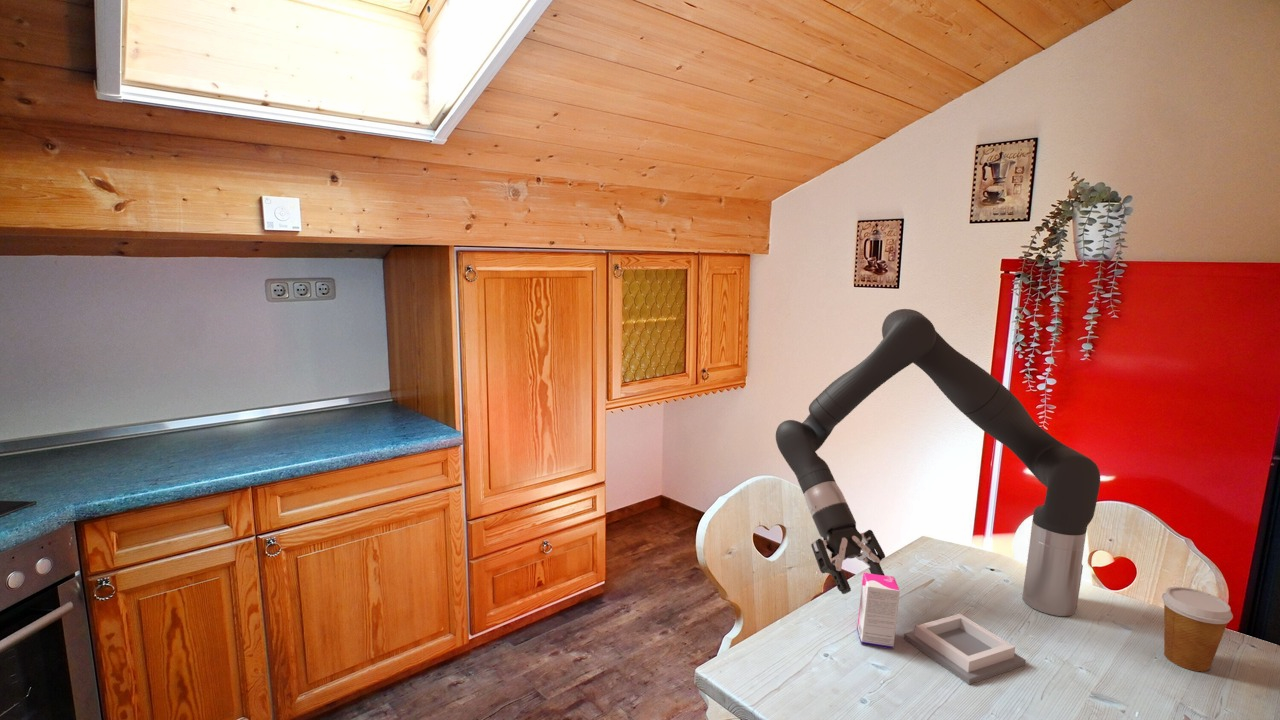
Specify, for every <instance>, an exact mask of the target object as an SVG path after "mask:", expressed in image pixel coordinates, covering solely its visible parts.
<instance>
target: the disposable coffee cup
mask: <svg viewBox="0 0 1280 720" xmlns="http://www.w3.org/2000/svg"><path fill="white" fill-rule="evenodd" d="M1161 599H1162V601H1163V604H1164V605H1163V607H1164V611H1163V612H1164V613H1163V614H1164V617H1163V620H1164V622H1163V623H1164V629H1163V634H1164V637H1163V638H1164V643H1163V644H1164V645H1163V649H1164V652H1163V655H1164V657H1165V658H1167V660H1168V661H1170V662H1171V663H1174V664H1175V665H1176V664H1177V666H1179V667H1181V668H1183V669H1186V670H1189V669H1190V671H1193V670H1194V672H1199V671H1201V672H1200V673H1203V671H1206V672H1208V671H1207V670H1209V669H1210V670H1211V667H1212V663H1213V661H1214V659H1215V657H1216V653H1217V651H1218V648H1219V647H1220V643H1221V642H1222V637H1224V633H1225V630H1226V628H1227V625H1228V623H1230V621H1232V620H1233V618H1234V615H1233V613H1232V611H1231V606H1230V605H1229V603H1227V602H1226V601H1225V600H1223V599H1221V598H1220V597H1217V596H1215V595H1213V594H1211V593H1208V592H1205V591H1202V590H1198V589H1194V588H1190V587H1182V586H1170V587H1168V588H1167V589H1166V590H1165V592H1164V593H1162V594H1161ZM1210 670H1209V671H1210Z"/></svg>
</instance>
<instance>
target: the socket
mask: <svg viewBox="0 0 1280 720" xmlns="http://www.w3.org/2000/svg"><path fill="white" fill-rule="evenodd" d="M903 640H906V641H907V642H908V643H909V642H910V645H912V646H914V647H915V648H916V647H917V648H916V649H918V650H919V651H921V652H923V653H924V654H925V655H926V656H928V657H929V658H931V659H932V660H934V662H936V663H937V664H939V665H940V666H942V667H944V668H945V669H946V670H948V671H949V672H950V673H952V674H953V675H954V676H956V677H957V678H959V679H960V680H962V681H963V682H965V683H966V684H967V685H971V684H974V683H977V682H979V681H983V680H985V679H989V678H992V677H995V676H998V675H1000V674H1003V673H1007V672H1009V671H1012V670H1016V669H1018V668H1022V667H1024V666H1026V659H1025V658H1024V657H1021V656H1020V655H1018V654H1017V653H1015V652H1016V651H1015V650H1016V646H1015V645H1012V644H1011V643H1009V642H1008V641H1006V640H1005V639H1003V638H1001V637H999V636H997V635H996V634H994V633H993V632H991V631H989V630H988V629H986V628H984V627H983V626H982V625H980V624H977V623H976V622H974V621H973V620H971V619H969V618H968V617H966V616H964V615H963V614H961V613H957V614H953V615H950V616H946V617H943V618H939V619H936V620H931V621H928V622H925V623H921V624H917V625H915V629H914V630H911V631H907V632H904V633H903Z"/></svg>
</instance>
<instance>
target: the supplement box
mask: <svg viewBox="0 0 1280 720" xmlns="http://www.w3.org/2000/svg"><path fill="white" fill-rule="evenodd" d="M884 575H885V574H884ZM884 575H877V574H871V572H870V573H868V572H863V573H862V581H861V582H862V583H861V590H860V591H861V592H860V600H859V610H858V618H857V626H856V630H857V632H858V633H857V634H858V638H859V640H860V644H861V645H862V646H869V647H875V648H883V649H889V650H892V649H894V645H895V637H896V628H897V618H898V611H899V602H900V593H901V591H900V587H899V586H898V583H897V581H896V578H895V576H889V575H885V576H884Z"/></svg>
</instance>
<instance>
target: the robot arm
mask: <svg viewBox="0 0 1280 720" xmlns="http://www.w3.org/2000/svg"><path fill="white" fill-rule="evenodd" d="M881 336H882V340H881V341H880V342H879V344H878V345H877V346H876V347H875V349H873V351H872V352H871V353H870V354H869V355H868V356H866V358H865V359H863V360H862V361H861V362H859V364H857V365H855V366H854V367H853V368H851V369H849V370H848V371H846V372H845V373H843V374H841V375H840V376H839V377H837V378H836V379H835V380H834V381H832V382H831V383H830V384H829V385H828V386H826V388H825V389H824V390H822V391H821V392H820V393H819V394H818V396H816V397H814V399H813V400H812V401H811V402H810V404H809V406H808V412H809V414H808V415H807V417H806V419H804V421H802V422H801V421H797V420H794V419H788V420H784V421H782V422H781V423H780V424H779V425H778V426H777V427H776V431H775V441H776V444H777V448H778V450H779V452H780V454H781V455H782V457H783V458H784V460H785V461H786V463H787V464H788V466H789V468H790V469H791V471H792V472H793V473H794V475H795V477H796V479H797V482H798V485H799V487H800V490H801V491H802V495H803V496H804V500H805V503H806V506H807V509H808V510H809V513H810V515H811V518H812V520H813V522H814V524H815V527H816V530H817V532H818V535H819V536H820V537H821V538H818V539H815V541H814V542H812V543H811V544H810V545H811V548H812V552H813V555H814V556H815V560H816V562H817V565H818V568H819V571H820V572H821V574H829V575H830V576H832V578H833V581H834V583H835V585H836V588H837V590H839V592H841V594H842V595H845V594H846V595H847V594H848V593H850V592H851V591H852V588H851V585H850V583H849V582H848V579H847V577H846V575H845V573H844V570H842V567H843V562H844V561H845V560H846V559H857V560H859V561H861V562H863V563H864V564H866V565H867V567H868V570H869V572H870V574H877V575H884V576H886V575H885V573H884V571H883V568H882V567H881V564H880V563H881V561H882V560H884V559H885V558H886V554H885V552H884V550H883V548H882V547H881V545H880V543H879V540H878V539H877V537H876V536H875V533H874V532H873V530H872V529H868V530H866V531H864V532H861V533H860V532H859V531H858V529H857V521H856V520H855V518H854V514H853V513H852V511H851V509H850V506H849V504H848V502H847V500H846V498H845V496H844V493H843V491H842V490H841V489H840V487H839V485H838V483H837V482H836V480H835V477H834V476H833V473H832V472H831V469H830V467H829V465H828V463H827V462H826V461H825V459H822V458H821V456H819V455H818V453H817V452H816V451H818V450H819V449H820V448H821V447H823V445H824V444H825V442H826V440H827V439H828V437H830V435H831V433H832V432H833V430H834V429H835V427H836V426H837V425H839V424H840V423H841V422H842V421H843V420H844V419H845V418H846V417H847V416H848V415H849V414H851V413H852V412H853V411H854V410H855V409H856V408H857V407H858V406H859V405H860V404H861V403H863V401H864V400H866V398H868V397H869V396H870V395H871V394H872V393H874V392H875V391H876V390H877V389H878V388H880V387H881V386H882V385H884V384H885V382H887V381H889V380H890V379H892V378H893V377H894V376H895V375H897V374H898V373H899V372H901V371H902V370H904V369H905V368H908V366H910V365H911V364H914V365H915V366H916V367H918V368H919V369H920V370H922V371H923V372H924V373H925V374H926V375H927V376H928V377H929V378H930V379H931V380H932V381H933V383H934V384H935V385H936V387H937V388H938V389H939V390H940V391H941V392H942V393H943V394H944V396H946V398H947V399H948V400H949V401H950V402H951V403H952V404H953V405H954V406H955V408H957V410H958V411H960V412H961V413H962V414H963V415H964V416H966V417H967V418H968V419H969V420H970V421H971V422H972V423H973V424H974V425H976V426H977V427H979V429H980V430H982V431H984V432H985V433H986V434H988V435H989V436H990V437H992V438H993V439H995V440H996V441H998V443H1001V444H1002V445H1004V446H1005V447H1006V448H1007V449H1009V450H1010V451H1011V452H1012V453H1013V454H1014V455H1015V456H1016V457H1017V458H1018V459H1019V460H1020V461H1021V462H1022V464H1024V465H1025V466H1026V467H1027V469H1028V470H1029V471H1030V473H1032V474H1033V475H1034V477H1035V478H1036V479H1037V480H1038V481H1039V482H1040V484H1042V485H1043V486H1045V487H1046V493H1045V499H1044V504H1041V505H1037V506H1036V507H1035V508H1034V510H1033V514H1032V523H1031V530H1030V539H1029V544H1028V545H1029V546H1028V552H1027V553H1028V554H1027V560H1026V561H1027V562H1026V569H1025V575H1024V585H1023V590H1022V600H1023V602H1024V603H1025V604H1026V605H1028V606H1029V607H1030V608H1032V609H1034V610H1036V611H1038V612H1041V613H1044V614H1048V615H1052V616H1059V617H1069V616H1072V615H1073V614H1075V612H1076V608H1077V607H1078V602H1079V596H1080V590H1081V584H1082V583H1081V582H1082V574H1083V568H1084V565H1083V558H1084V551H1085V544H1086V538H1087V537H1086V535H1087V530H1088V526H1089V524H1090V523H1091V522H1092V521H1093V518H1094V515H1095V511H1096V507H1097V502H1098V496H1099V492H1100V488H1101V487H1100V486H1101V473H1100V470H1099V467H1098V465H1097V463H1095V462H1094V460H1092V459H1091V458H1089V457H1088V456H1086V455H1084V454H1083V453H1081V452H1078V451H1077V450H1075V449H1074V448H1072V447H1069V446H1068V445H1065V444H1064V443H1063V442H1061V441H1060V440H1058V439H1057V438H1055V437H1054V436H1053V435H1051V434H1050V433H1049V432H1047V431H1046V430H1045V429H1044V428H1042V427H1041V426H1040V425H1038V423H1037V422H1035V420H1034V419H1033V417H1032V416H1031V415H1030V413H1029V412H1028V411H1027V409H1026V408H1025V406H1024V405H1023V404H1022V402H1021V400H1019V399H1018V398H1017V397H1016V396H1015V395H1014V394H1013V393H1012V392H1011V390H1009V389H1008V388H1007V387H1005V386H1004V384H1002V383H1001V382H1000V381H999V380H998V379H996V378H995V377H994V376H993V375H991V374H990V373H989V372H988V371H986V370H985V369H984V368H982V367H980V365H979V364H977V363H975V362H974V361H972V360H971V359H970V358H968V357H966V356H965V355H964V354H962V353H960V352H959V351H958V350H956V349H955V348H954V347H953V346H951V345H950V344H949V343H948V342H947V341H946V339H945V338H943V337H942V336H941V335H940V333H938V332H937V330H936V328H935V325H934V324H933V323H932V321H931V320H930V319H929V318H927V317H926V316H925V315H924V314H923V313H921V312H919V311H918V310H914V309H911V308H910V309H909V308H903V309H896V310H893V311H892V312H890V313H889V314H888V315H887V316H886V317H885V318H884V320H883V323H882V327H881ZM822 538H823V539H822ZM827 550H828V551H829V552H830V554H828V551H827ZM861 551H862V552H861ZM829 555H830V557H829Z"/></svg>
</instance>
